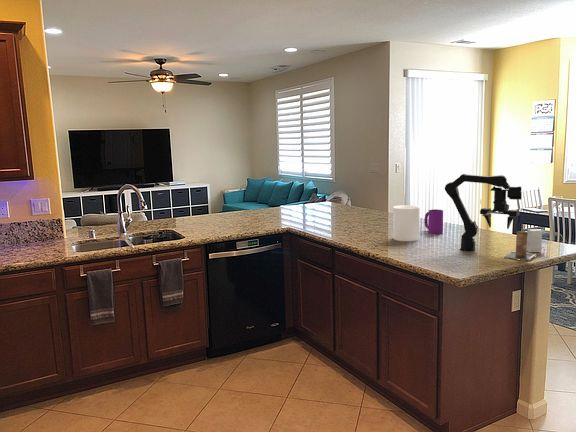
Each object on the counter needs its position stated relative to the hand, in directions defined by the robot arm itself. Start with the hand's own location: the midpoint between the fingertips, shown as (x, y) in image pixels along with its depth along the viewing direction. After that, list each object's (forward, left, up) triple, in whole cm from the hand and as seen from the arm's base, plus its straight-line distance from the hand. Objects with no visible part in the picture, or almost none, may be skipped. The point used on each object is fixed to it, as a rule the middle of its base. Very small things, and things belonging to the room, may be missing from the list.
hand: (498, 228), depth 254 cm
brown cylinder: (+14, -8, -12) cm, 20 cm away
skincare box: (+15, +10, -13) cm, 22 cm away
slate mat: (+13, -6, -13) cm, 19 cm away
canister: (-57, +4, -13) cm, 59 cm away
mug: (-53, +32, -13) cm, 63 cm away
